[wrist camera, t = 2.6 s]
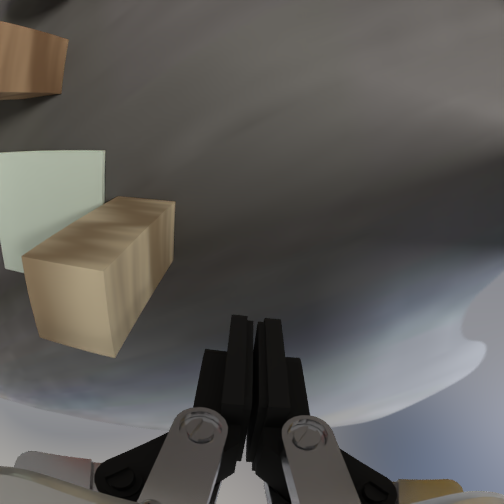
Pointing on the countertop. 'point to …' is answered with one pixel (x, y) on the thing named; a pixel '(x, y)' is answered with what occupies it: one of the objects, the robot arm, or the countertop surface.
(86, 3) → the countertop surface
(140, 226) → the maple block
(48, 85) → the walnut block
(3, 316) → the countertop surface
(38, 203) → the mat
